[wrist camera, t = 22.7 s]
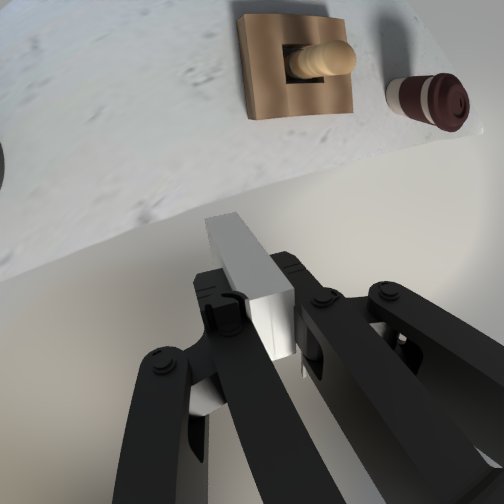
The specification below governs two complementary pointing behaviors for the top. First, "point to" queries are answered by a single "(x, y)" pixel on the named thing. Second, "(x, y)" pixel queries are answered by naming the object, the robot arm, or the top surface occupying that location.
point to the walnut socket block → (273, 72)
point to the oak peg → (320, 61)
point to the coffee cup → (430, 100)
